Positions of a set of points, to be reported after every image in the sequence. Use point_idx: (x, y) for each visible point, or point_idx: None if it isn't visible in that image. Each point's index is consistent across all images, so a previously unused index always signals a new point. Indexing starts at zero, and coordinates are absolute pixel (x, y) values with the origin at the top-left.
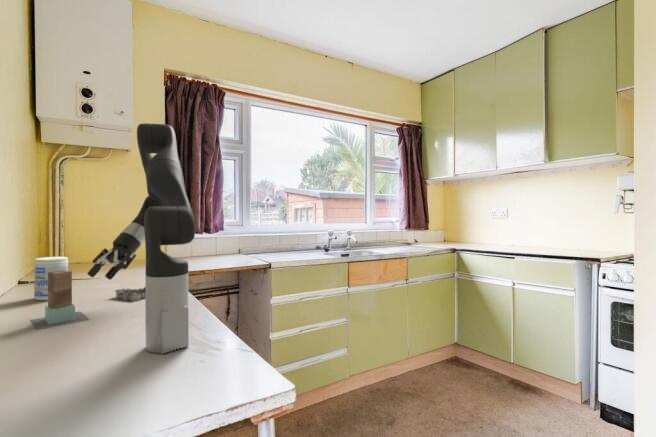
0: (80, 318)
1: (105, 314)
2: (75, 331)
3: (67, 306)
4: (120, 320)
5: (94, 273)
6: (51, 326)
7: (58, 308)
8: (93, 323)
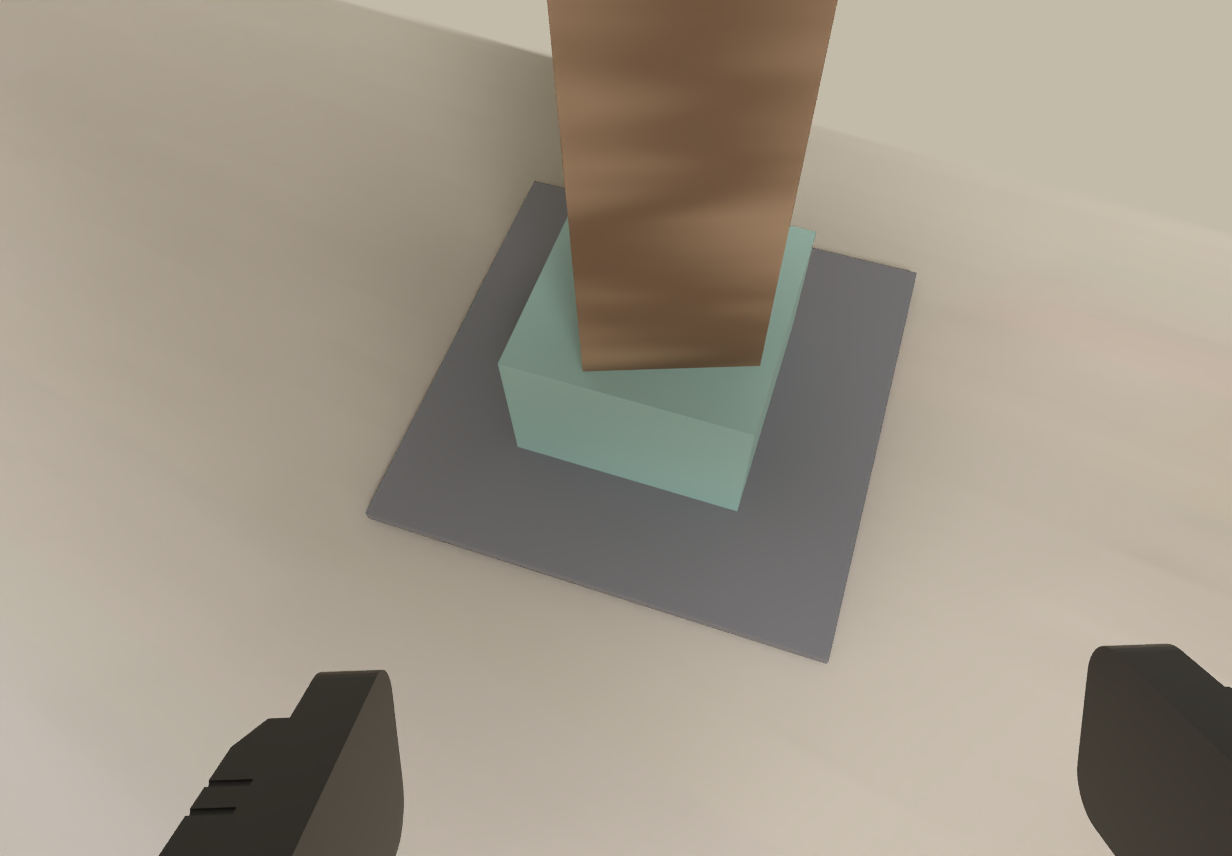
0: (510, 494)
1: (428, 753)
2: (210, 301)
3: (563, 320)
4: (31, 674)
5: (1144, 830)
6: (512, 263)
7: (570, 245)
8: (250, 484)
